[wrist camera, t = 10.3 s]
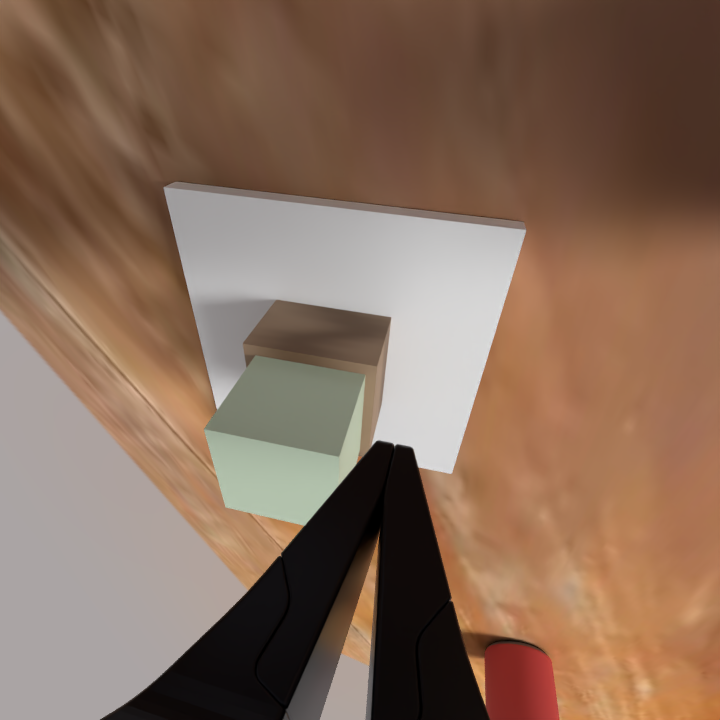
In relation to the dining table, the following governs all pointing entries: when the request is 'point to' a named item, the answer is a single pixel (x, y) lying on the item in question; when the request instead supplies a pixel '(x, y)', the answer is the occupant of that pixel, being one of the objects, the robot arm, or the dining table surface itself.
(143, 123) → the dining table surface
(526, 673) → the beer can
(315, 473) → the green block
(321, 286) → the build plate
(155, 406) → the dining table surface
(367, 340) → the walnut block
